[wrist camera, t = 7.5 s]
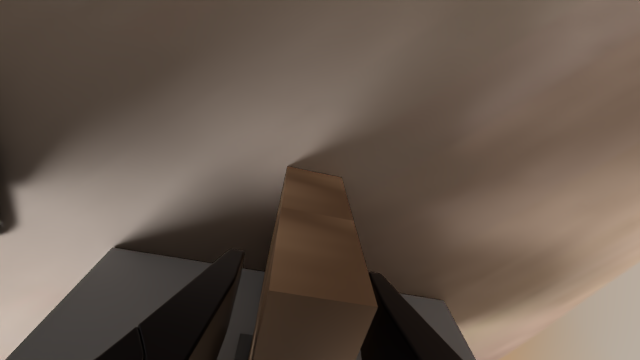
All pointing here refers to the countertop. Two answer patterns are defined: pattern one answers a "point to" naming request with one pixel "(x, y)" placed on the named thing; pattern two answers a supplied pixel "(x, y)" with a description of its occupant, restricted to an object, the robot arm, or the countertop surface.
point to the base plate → (154, 290)
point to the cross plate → (313, 276)
